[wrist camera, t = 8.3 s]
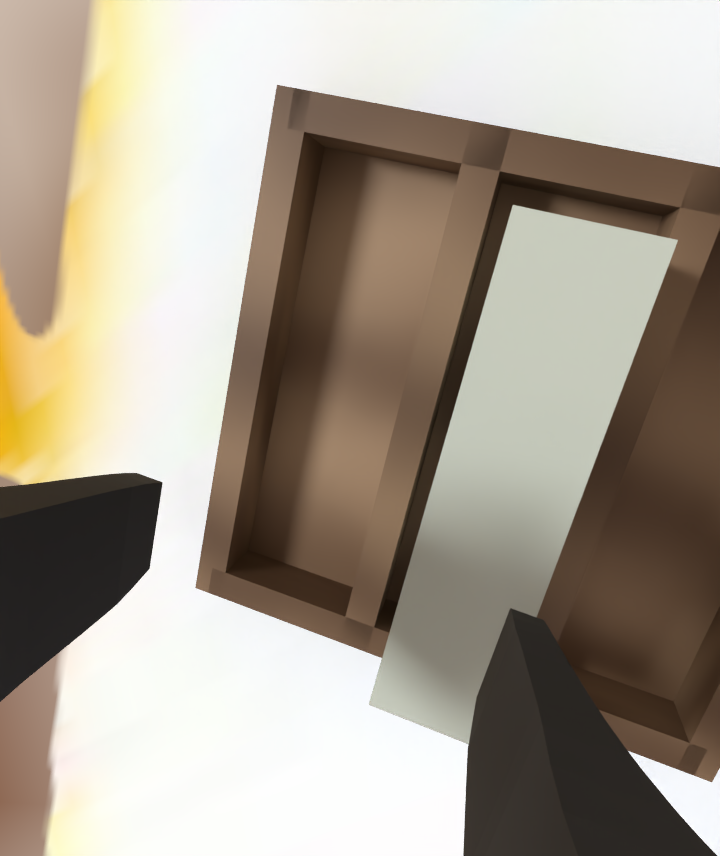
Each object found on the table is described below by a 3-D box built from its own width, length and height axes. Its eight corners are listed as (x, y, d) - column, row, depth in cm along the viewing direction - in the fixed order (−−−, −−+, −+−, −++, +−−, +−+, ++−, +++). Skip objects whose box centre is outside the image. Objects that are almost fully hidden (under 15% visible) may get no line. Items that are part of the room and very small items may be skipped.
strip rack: (688, 723, 19) (712, 782, 17) (227, 557, 22) (195, 587, 20) (933, 231, 15) (1010, 221, 12) (307, 110, 18) (277, 85, 15)
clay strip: (495, 616, 19) (486, 751, 14) (410, 586, 20) (368, 704, 14) (620, 256, 16) (677, 240, 10) (514, 232, 16) (513, 204, 11)
